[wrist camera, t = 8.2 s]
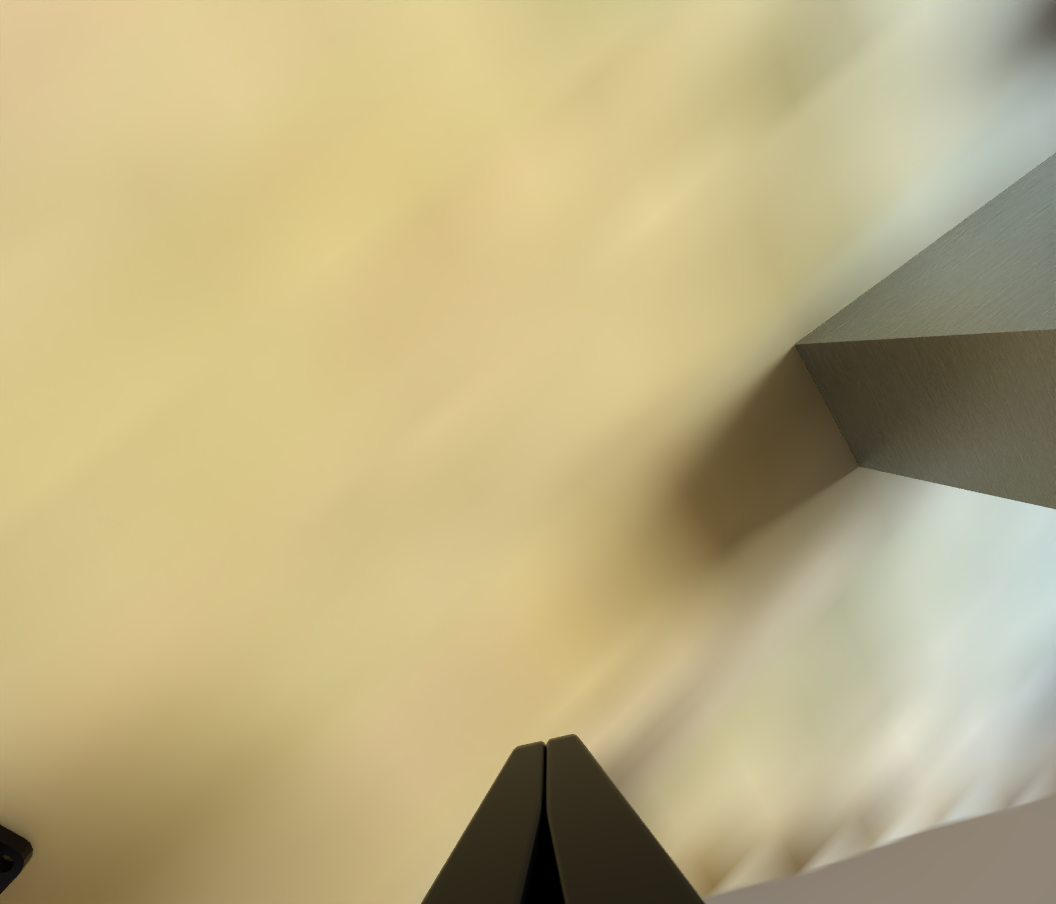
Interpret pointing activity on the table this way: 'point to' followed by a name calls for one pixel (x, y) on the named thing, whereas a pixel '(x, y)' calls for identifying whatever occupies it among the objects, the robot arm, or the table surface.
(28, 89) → the table surface
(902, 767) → the table surface
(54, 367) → the table surface
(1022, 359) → the silver rectangular block
